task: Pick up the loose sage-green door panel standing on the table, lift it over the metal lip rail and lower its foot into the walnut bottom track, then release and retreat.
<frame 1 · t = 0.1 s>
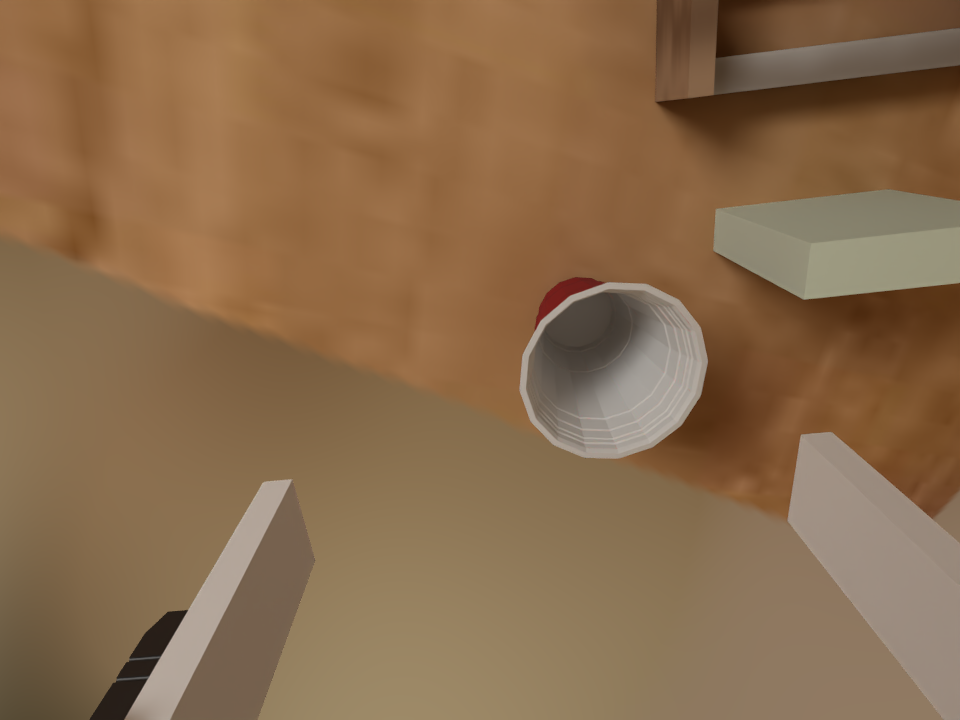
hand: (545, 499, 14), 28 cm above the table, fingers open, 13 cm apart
track: (825, 8, 34), on the table
door panel: (799, 220, 39), on the table
plastic cup: (577, 310, 42), on the table
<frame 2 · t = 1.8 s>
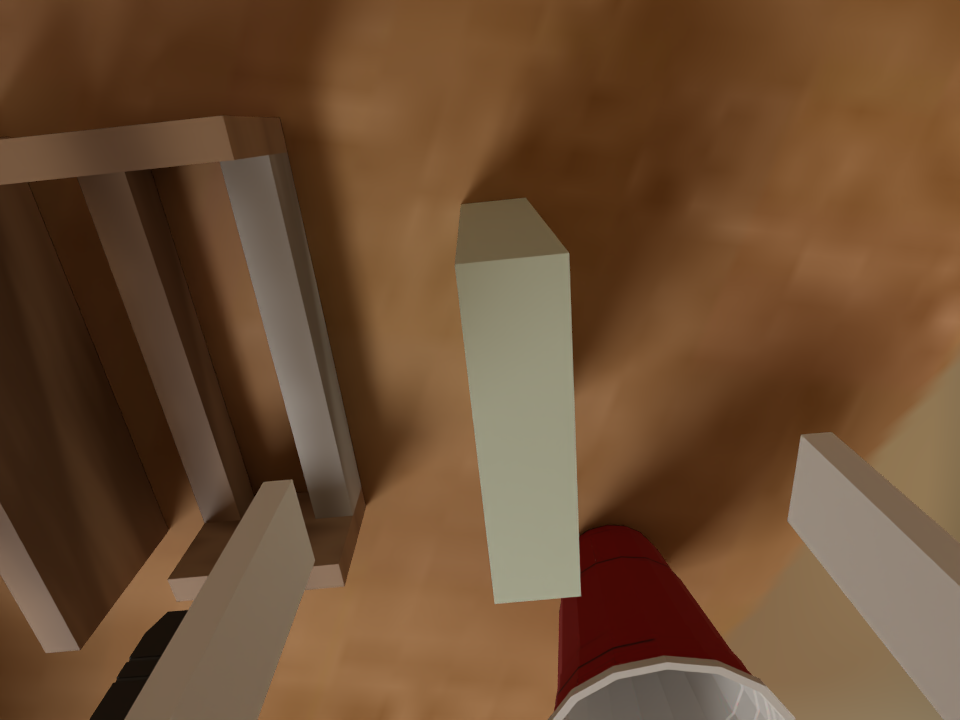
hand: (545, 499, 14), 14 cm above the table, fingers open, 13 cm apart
track: (249, 348, 28), on the table
door panel: (503, 323, 28), on the table
plastic cup: (604, 556, 34), on the table
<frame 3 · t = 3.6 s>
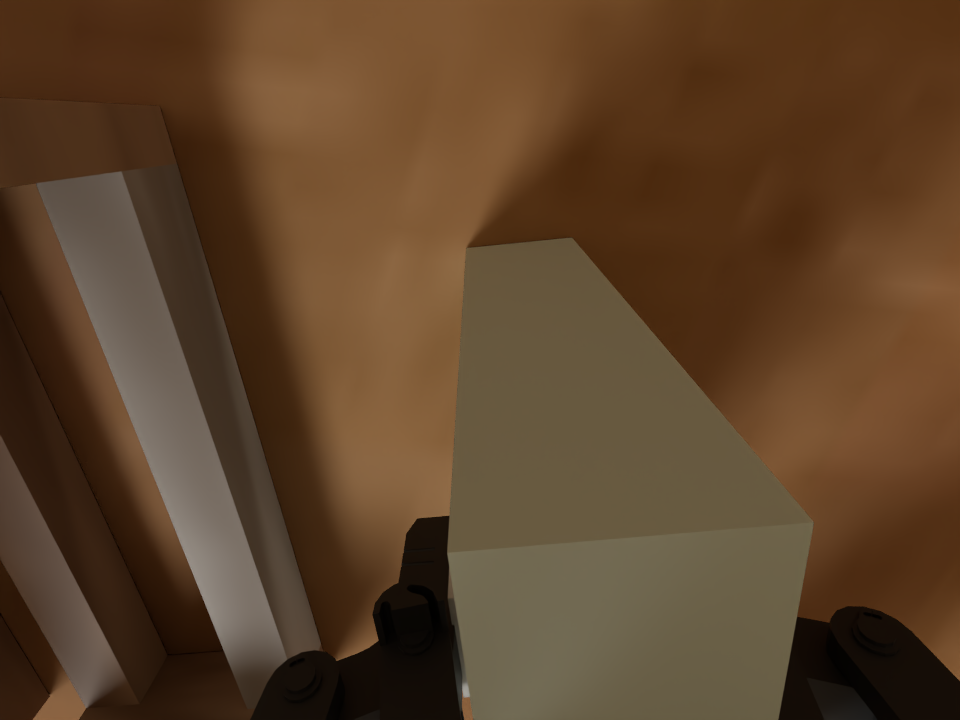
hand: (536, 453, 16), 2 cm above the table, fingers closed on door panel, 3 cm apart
track: (142, 461, 18), on the table
door panel: (531, 426, 18), on the table, touching gripper
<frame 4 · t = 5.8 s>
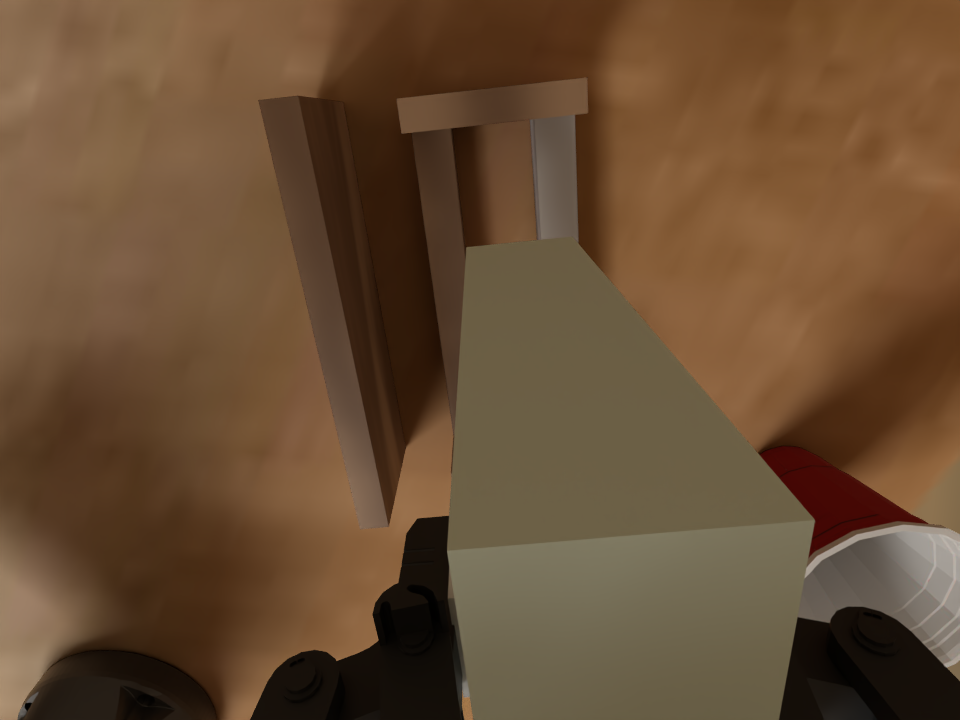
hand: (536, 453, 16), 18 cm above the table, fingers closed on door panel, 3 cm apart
track: (504, 284, 33), on the table
door panel: (531, 425, 18), point 17 cm above the table, touching gripper
plastic cup: (774, 476, 39), on the table
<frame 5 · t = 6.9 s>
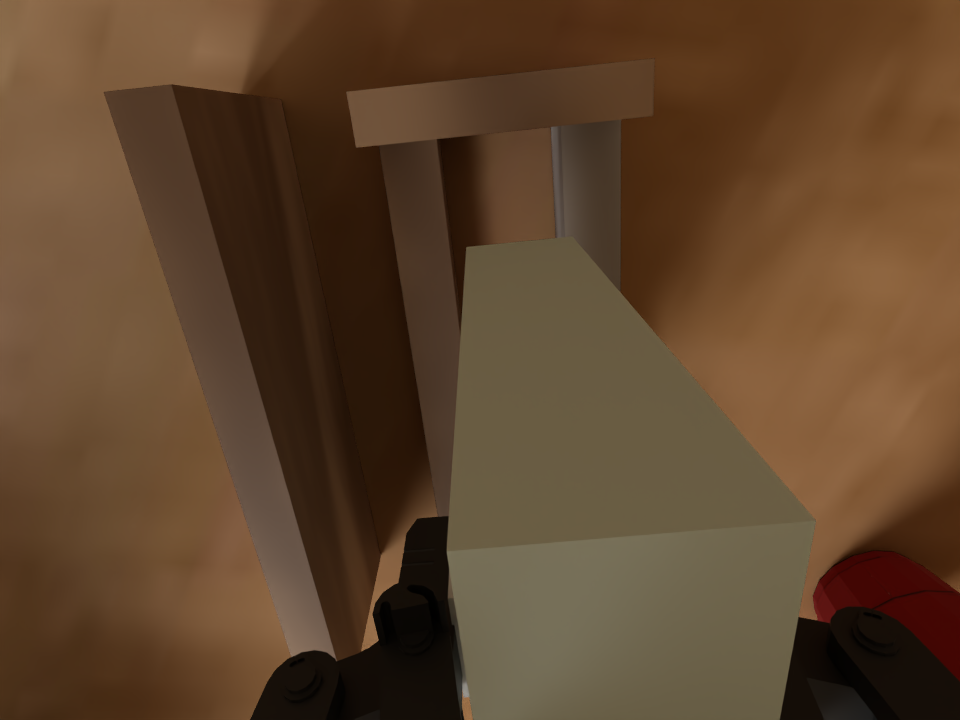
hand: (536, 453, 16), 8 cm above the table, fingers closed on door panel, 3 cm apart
track: (512, 350, 24), on the table
door panel: (531, 425, 18), point 7 cm above the table, touching gripper
plastic cup: (859, 585, 30), on the table
when the fingers open (4 cm above the table, at t = 8.0 s): door panel drops 2 cm, resting in track.
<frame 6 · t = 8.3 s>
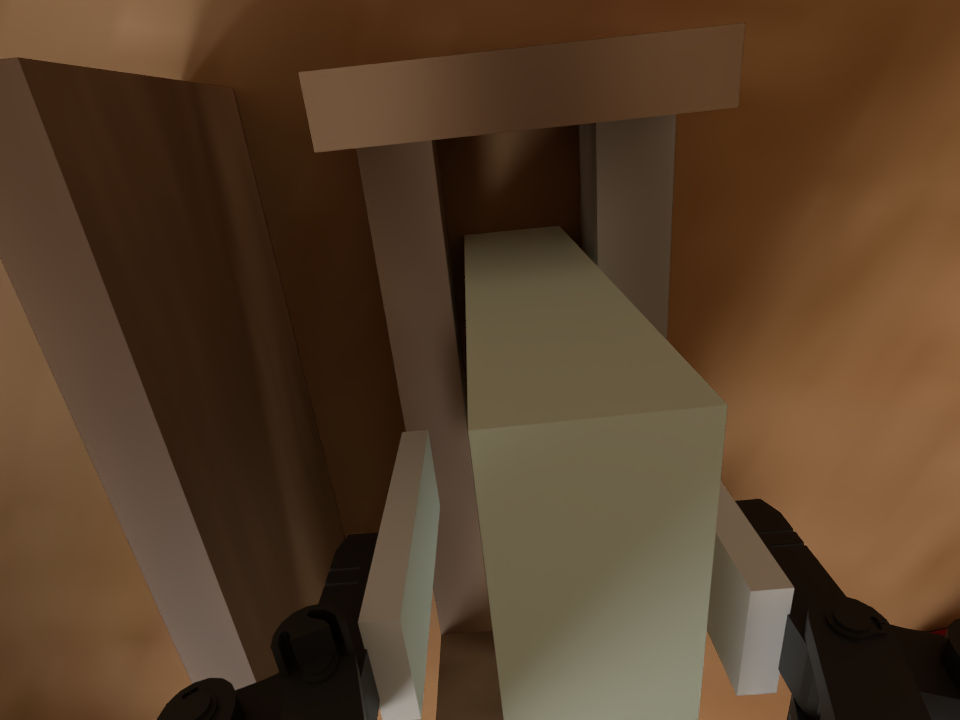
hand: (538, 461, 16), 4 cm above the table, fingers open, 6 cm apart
track: (526, 398, 20), on the table
door panel: (523, 398, 20), resting in track
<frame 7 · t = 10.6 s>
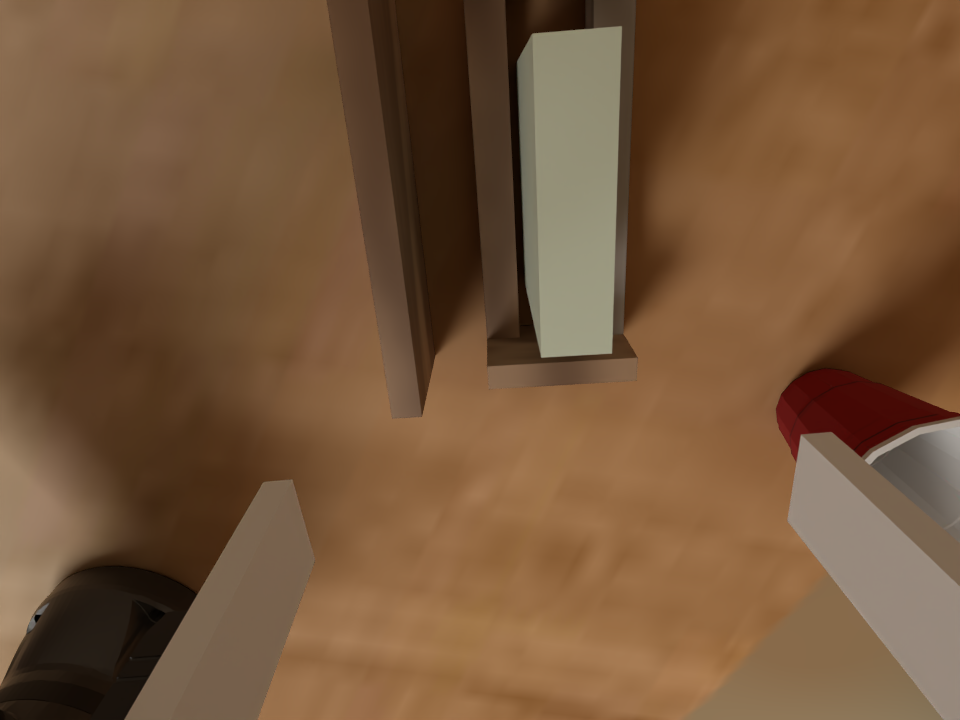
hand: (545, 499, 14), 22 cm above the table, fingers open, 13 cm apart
track: (547, 178, 32), on the table
door panel: (546, 178, 32), resting in track
plastic cup: (814, 401, 38), on the table
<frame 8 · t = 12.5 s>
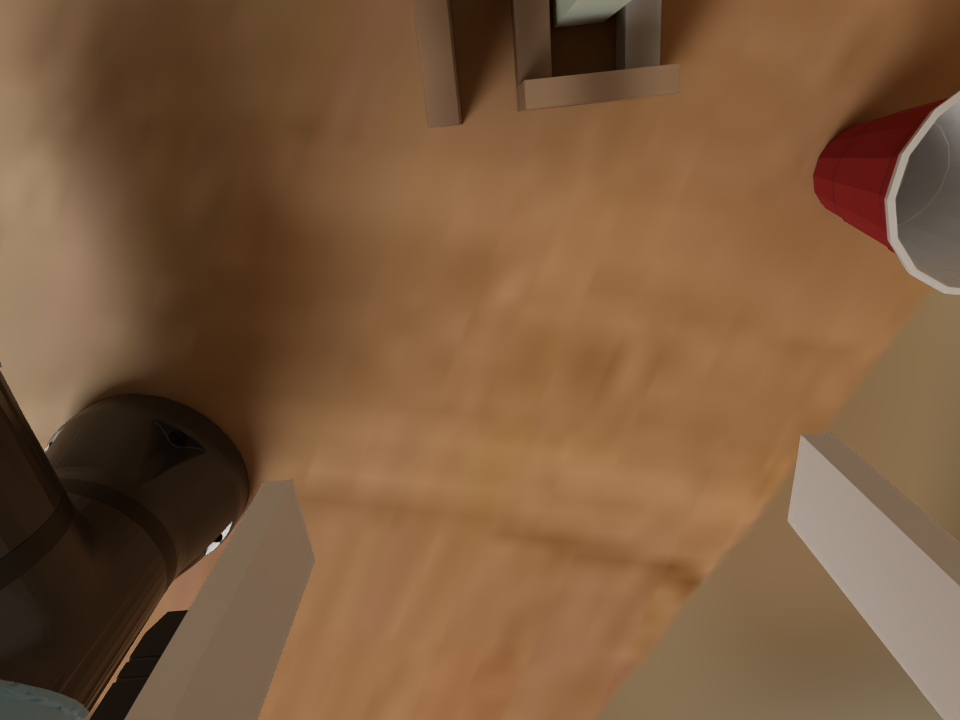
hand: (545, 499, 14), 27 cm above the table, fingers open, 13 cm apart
plastic cup: (851, 167, 37), on the table
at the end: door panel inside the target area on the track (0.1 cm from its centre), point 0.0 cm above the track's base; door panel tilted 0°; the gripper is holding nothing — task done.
